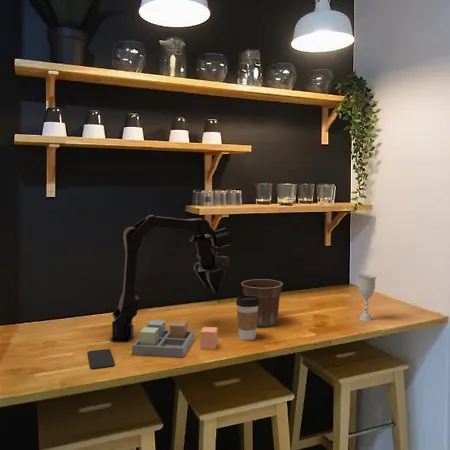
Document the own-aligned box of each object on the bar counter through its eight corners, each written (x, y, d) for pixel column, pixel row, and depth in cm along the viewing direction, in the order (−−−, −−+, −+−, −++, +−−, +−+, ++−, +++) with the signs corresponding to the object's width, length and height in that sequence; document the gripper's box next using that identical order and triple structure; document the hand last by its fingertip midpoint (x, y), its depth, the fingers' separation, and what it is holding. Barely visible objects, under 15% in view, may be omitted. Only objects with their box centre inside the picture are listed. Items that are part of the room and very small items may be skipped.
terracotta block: (200, 348, 154) (200, 331, 154) (203, 343, 159) (203, 326, 159) (215, 349, 154) (215, 332, 153) (217, 344, 159) (217, 327, 158)
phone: (110, 348, 153) (115, 364, 139) (110, 350, 154) (115, 367, 140) (87, 351, 151) (90, 368, 137) (87, 353, 151) (90, 370, 137)
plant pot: (232, 323, 183) (232, 283, 181) (258, 314, 194) (258, 276, 193) (265, 332, 172) (265, 289, 170) (290, 322, 183) (290, 282, 182)
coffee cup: (252, 343, 160) (252, 300, 158) (231, 338, 164) (231, 297, 163) (263, 336, 167) (263, 295, 166) (242, 332, 172) (243, 292, 170)
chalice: (355, 320, 186) (357, 276, 184) (357, 316, 192) (358, 273, 191) (374, 322, 183) (376, 278, 182) (375, 318, 190) (377, 275, 188)
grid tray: (132, 354, 149) (131, 333, 148) (148, 337, 166) (147, 318, 165) (183, 357, 147) (183, 336, 146) (194, 339, 163) (194, 320, 163)
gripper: (234, 249, 166) (241, 290, 169) (215, 243, 184) (222, 280, 186) (206, 257, 163) (213, 298, 165) (189, 249, 180) (196, 287, 182)
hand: (212, 290), depth 175 cm, fingers open, 9 cm apart
